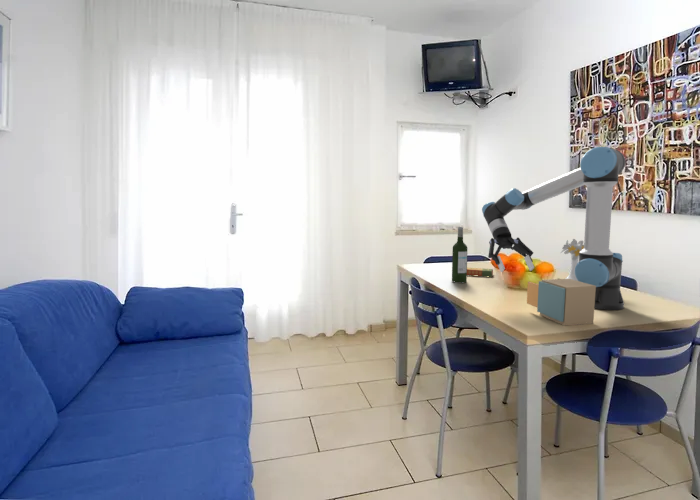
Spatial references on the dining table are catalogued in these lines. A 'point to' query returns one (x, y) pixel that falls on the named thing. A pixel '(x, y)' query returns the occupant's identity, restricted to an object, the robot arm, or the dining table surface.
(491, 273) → the carton
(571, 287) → the kraft box
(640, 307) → the dining table surface
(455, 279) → the wine bottle
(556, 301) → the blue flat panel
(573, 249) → the flower vase
